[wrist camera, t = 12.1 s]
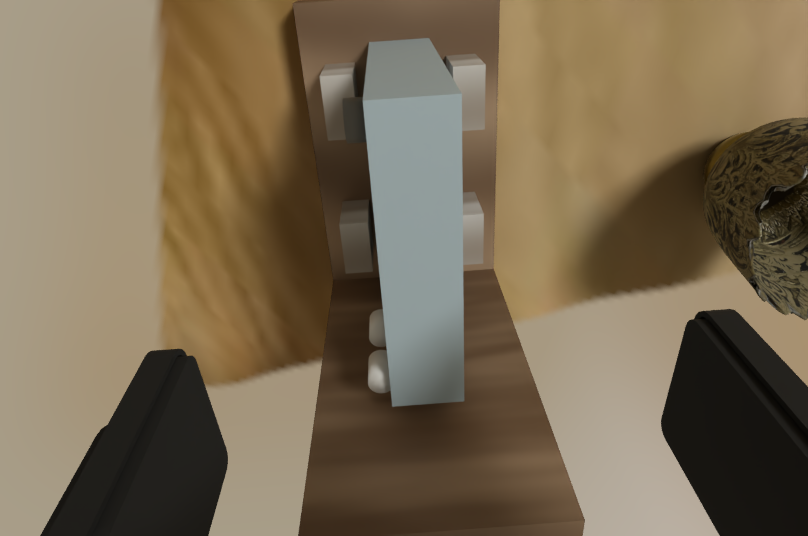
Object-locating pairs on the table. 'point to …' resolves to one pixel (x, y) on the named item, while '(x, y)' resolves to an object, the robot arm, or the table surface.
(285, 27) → the table surface
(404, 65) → the door
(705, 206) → the cup
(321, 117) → the cabinet base
